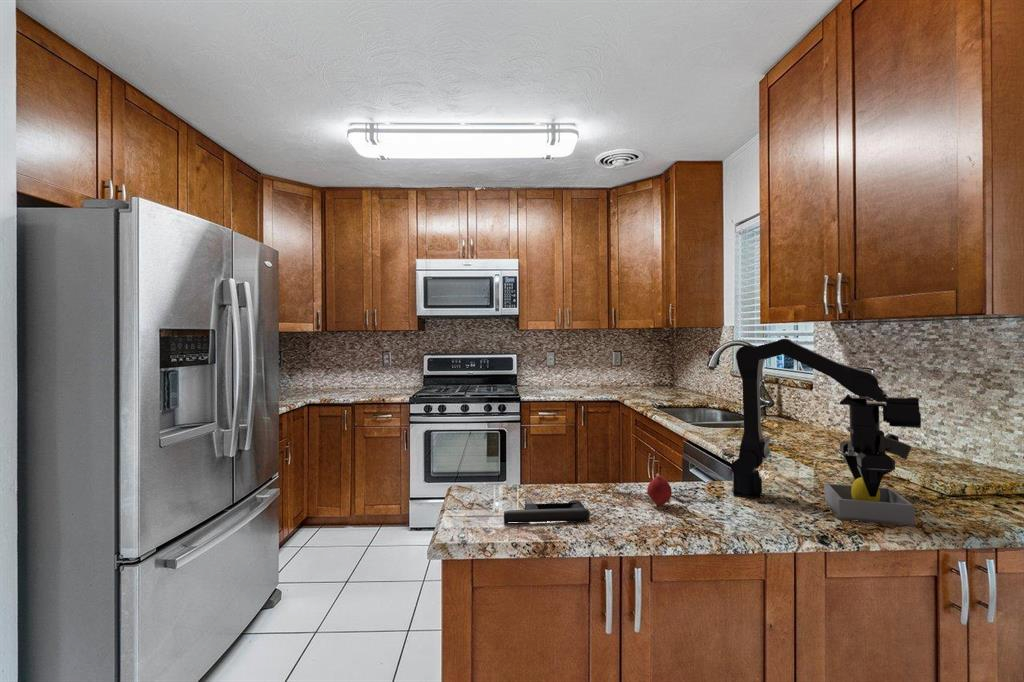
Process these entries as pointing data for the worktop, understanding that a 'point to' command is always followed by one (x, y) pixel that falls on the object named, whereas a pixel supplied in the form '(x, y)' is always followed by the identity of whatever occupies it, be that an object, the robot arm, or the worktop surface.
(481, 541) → the worktop surface
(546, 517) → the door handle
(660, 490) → the onion
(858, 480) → the lemon
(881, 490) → the box
